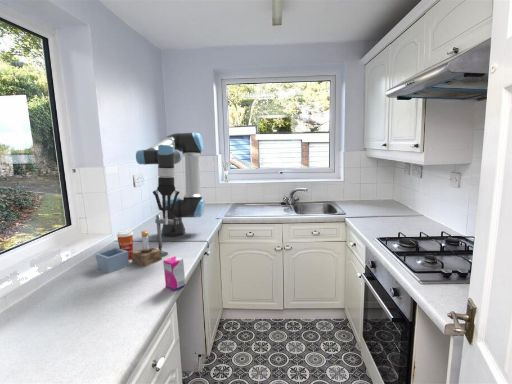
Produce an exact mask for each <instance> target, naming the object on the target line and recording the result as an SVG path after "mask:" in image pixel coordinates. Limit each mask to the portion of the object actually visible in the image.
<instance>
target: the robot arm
mask: <svg viewBox="0 0 512 384" xmlns="http://www.w3.org/2000/svg"><path fill="white" fill-rule="evenodd" d="M203 151H204V140H203V137H202V135H201V134H200V133H198V132H177V133H176V132H175V133H172V134H169V135H167V136H165V137H163V138H161V139H160V141H159V142H158V143H156V144H154V145H153V146H152V145H151V147H149V148H147V149H138V150H136V153H135V160H136V163H137V164H139V165H144V166H145V165H157V175H158V179H157V180H158V181H157V182H158V183H157V185H158V186H157V187H156V189H154V190H153V191H152V194H153V195H154V197H155V200H156V204H157V208H158V210H159V211H161V213H162V219H165V224H162V227H161V234H162V235H161V236H163V235H164V236H163V237H177V236H182V235H184V234H185V233H186V228H185V225H184V222H183V219H185V218H201V217H202V216H203V215H204V213H205V206H206V202H205V199H204V198H203V197H202V195H201V194H200V164H199V163H200V160H199V159H200V158H199V157H200V156H201V154H202V152H203ZM183 156H184V167H185V168H184V169H185V170H184V173H185V175H184V176H185V179H184V180H185V181H184V182H185V195H183V198H182V199H181V197H180V196H179V195H180V190H178V189H176V186H175V177H174V176H175V165H177V164H179V163H180V162H181V161H182V158H183ZM159 194H160V195H161V199H162V201H161V199H160V195H159ZM172 194H174V197H171V196H172ZM166 196H167V197H166ZM173 218H178V220H179V224H178V225H172V224H168V219H173Z"/></svg>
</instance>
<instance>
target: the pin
mask: <svg viewBox="0 0 512 384" xmlns="http://www.w3.org/2000/svg"><path fill="white" fill-rule="evenodd" d="M141 242H142V249H143V253H148V252H150V250H149V247H150V239H149V231H148V230H143V231H141Z"/></svg>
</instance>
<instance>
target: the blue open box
mask: <svg viewBox="0 0 512 384" xmlns="http://www.w3.org/2000/svg"><path fill="white" fill-rule="evenodd" d="M95 258H96V259H95V260H96V268H97V269H98V270H101V271H102V272H103V271H104V272H106V273H109V274H110V273H113V272H115V271H119V270H120V269H123V268H125V267H127V266H128V267H129V266H130V260H129V258H128V251H125V250H122V249H119V247H118V248H117V247H114V248H110V249H107V250H105V251H101V252H99V253H95Z"/></svg>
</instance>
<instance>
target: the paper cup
mask: <svg viewBox="0 0 512 384" xmlns="http://www.w3.org/2000/svg"><path fill="white" fill-rule="evenodd" d="M116 237H117V242H118V249H122V250H125V251H128V258H129V261H132V255H131V253H132V252H134V239H133V237H134V232H133V231H132V230H127V229H126V230H121V231H118V232H117V234H116Z"/></svg>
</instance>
